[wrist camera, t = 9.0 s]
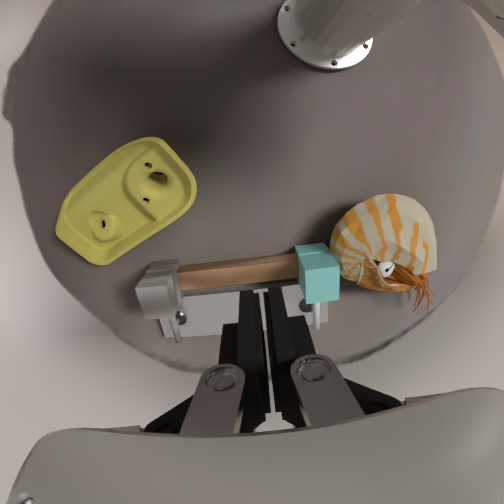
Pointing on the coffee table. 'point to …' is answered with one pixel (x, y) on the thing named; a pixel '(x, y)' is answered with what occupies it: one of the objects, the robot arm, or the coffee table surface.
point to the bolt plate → (233, 309)
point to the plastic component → (125, 200)
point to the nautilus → (386, 245)
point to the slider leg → (317, 276)
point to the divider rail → (204, 281)
